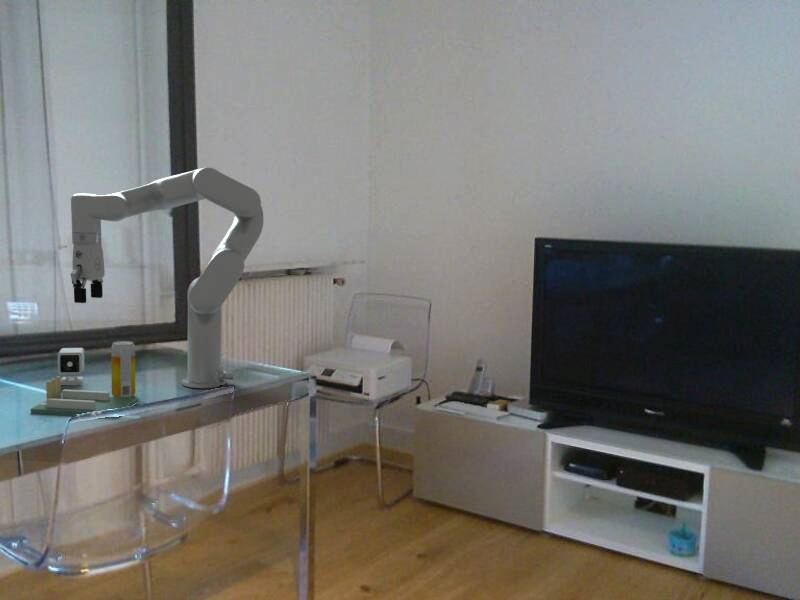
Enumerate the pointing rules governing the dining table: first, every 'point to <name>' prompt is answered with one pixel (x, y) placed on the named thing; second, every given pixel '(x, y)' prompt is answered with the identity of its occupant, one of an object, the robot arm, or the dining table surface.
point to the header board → (77, 401)
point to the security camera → (71, 365)
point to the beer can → (123, 369)
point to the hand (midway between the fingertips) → (88, 300)
